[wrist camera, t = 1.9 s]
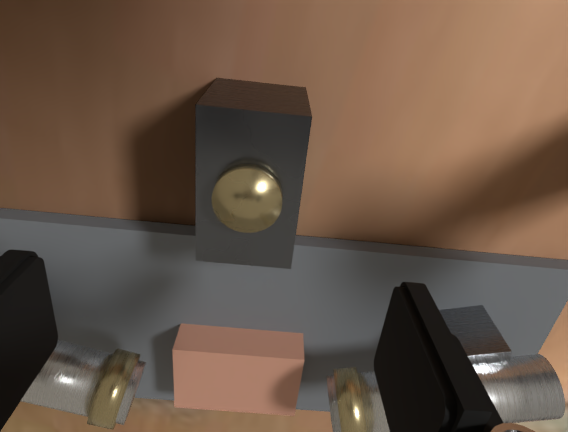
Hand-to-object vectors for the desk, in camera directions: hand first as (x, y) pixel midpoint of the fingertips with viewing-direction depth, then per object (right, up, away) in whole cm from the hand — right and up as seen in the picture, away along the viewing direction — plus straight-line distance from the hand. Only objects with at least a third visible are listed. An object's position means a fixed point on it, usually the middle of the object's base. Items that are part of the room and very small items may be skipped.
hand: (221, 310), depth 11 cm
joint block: (0, +6, +9) cm, 11 cm away
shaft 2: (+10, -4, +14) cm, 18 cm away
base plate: (-1, -4, +14) cm, 15 cm away
